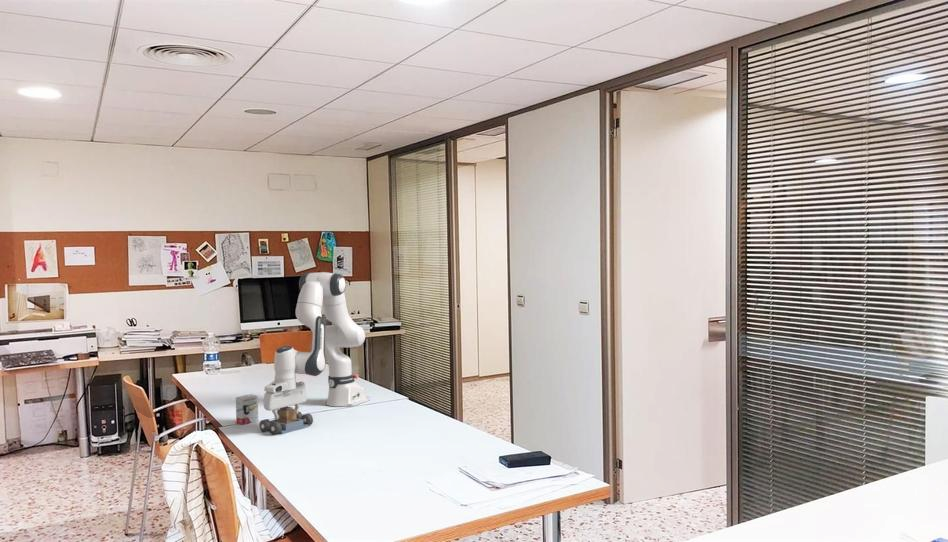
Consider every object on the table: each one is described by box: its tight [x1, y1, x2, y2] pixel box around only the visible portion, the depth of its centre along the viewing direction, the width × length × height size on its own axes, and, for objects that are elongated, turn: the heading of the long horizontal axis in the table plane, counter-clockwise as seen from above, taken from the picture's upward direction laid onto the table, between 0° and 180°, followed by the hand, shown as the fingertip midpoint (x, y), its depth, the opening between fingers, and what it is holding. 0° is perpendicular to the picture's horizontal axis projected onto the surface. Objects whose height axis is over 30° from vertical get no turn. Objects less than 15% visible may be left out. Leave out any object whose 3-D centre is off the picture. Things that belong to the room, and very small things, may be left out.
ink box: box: [235, 393, 259, 426], centre depth 303 cm, size 9×5×12 cm, turn 143°
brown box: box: [277, 406, 297, 424], centre depth 291 cm, size 5×7×8 cm
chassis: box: [259, 410, 314, 436], centre depth 291 cm, size 19×12×5 cm, turn 143°
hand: (286, 416), depth 291 cm, fingers open, 8 cm apart
